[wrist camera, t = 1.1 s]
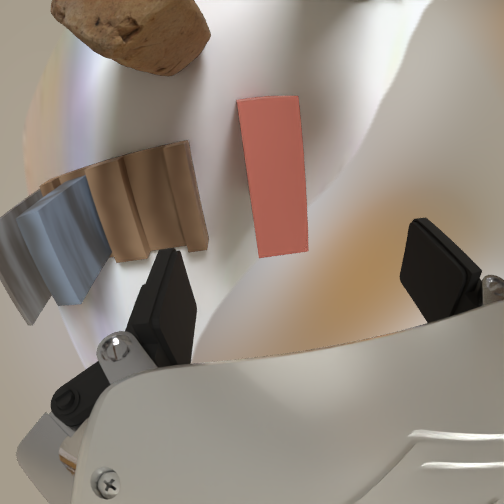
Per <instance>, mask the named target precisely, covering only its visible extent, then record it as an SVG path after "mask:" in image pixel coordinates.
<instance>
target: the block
mask: <svg viewBox="0 0 504 504" xmlns="http://www.w3.org/2000/svg"><path fill="white" fill-rule="evenodd" d="M51 14H52V15H53V16H54V18H55V19H56V20H57V21H58V22H60V23H61V24H63V25H64V26H65V27H66V28H68V29H69V30H70V31H71V32H72V33H73V34H74V35H75V36H76V37H77V38H79V39H80V40H81V41H82V42H83V43H85V44H86V45H87V46H88V47H89V48H91V49H92V50H93V51H94V52H96V53H98V54H100V55H101V56H103V57H105V58H109V59H112V60H114V61H116V62H118V63H119V64H121V65H124V66H126V67H131V68H133V69H135V70H139V71H144V72H148V73H152V74H156V75H161V76H172V75H175V74H177V73H178V72H179V71H181V70H182V69H184V68H185V67H186V66H187V65H188V64H189V63H190V62H192V61H193V60H194V59H195V58H196V57H197V56H198V55H199V54H200V53H201V52H202V50H203V49H204V47H205V45H206V44H207V42H208V41H209V39H210V37H211V34H210V30H209V27H208V25H207V23H206V20H205V18H204V16H203V14H202V13H201V11H200V9H199V7H198V6H197V4H196V3H195V1H194V0H52V3H51Z"/></svg>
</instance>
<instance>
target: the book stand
mask: <svg viewBox="0 0 504 504" xmlns="http://www.w3.org/2000/svg"><path fill="white" fill-rule="evenodd" d="M208 240H209V238H208V233H207V229H206V224H205V220H204V215H203V211H202V206H201V201H200V197H199V192H198V187H197V182H196V177H195V172H194V167H193V162H192V157H191V152H190V147H189V142H188V140H186V141H181V142H176V143H171V144H167V145H162V146H158V147H154V148H150V149H145V150H142V151H138V152H134V153H130V154H126V155H123V156H119V157H116V158H112V159H109V160H105V161H102V162H99V163H96V164H92V165H89V166H86V167H83V168H80V169H77V170H74V171H71V172H69V173H66V174H63V175H60V176H58V177H55V178H52V179H50V180H48V181H47V182H45V183H44V184H42V185H41V186H40V189H38V190H37V191H36V192H34V193H33V194H31V195H30V196H28V197H27V198H25V200H23V201H21V202H20V203H19V204H17V205H16V206H15V207H13V208H12V209H11V210H9V211H8V212H7V213H5V214H4V215H3V216H2V217H0V280H1V282H2V284H3V286H4V287H5V289H6V291H7V293H8V294H9V296H10V298H11V299H12V301H13V303H14V304H15V306H16V308H17V309H18V311H19V312H20V314H21V315H22V317H23V318H24V320H25V321H26V323H27V324H28V325H33V324H34V323H35V321H36V319H37V318H38V316H39V314H40V312H41V311H42V310H43V308H44V306H45V305H46V303H47V302H48V300H49V299H50V297H51V296H53V298H54V300H55V301H56V303H57V305H58V306H62V305H76V304H82V302H83V300H84V298H85V297H86V295H87V293H88V291H89V289H90V288H91V286H92V284H93V283H94V281H95V279H96V278H97V276H98V274H99V273H100V271H101V269H102V268H103V266H104V264H105V263H106V261H107V260H108V258H109V257H114V258H115V260H116V263H120V262H126V261H133V260H140V259H147V258H148V256H149V254H150V252H151V251H153V250H160V249H166V248H173V247H180V246H186V245H187V248H188V252H195V251H202V250H207V247H208Z"/></svg>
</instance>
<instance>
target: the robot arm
mask: <svg viewBox="0 0 504 504" xmlns="http://www.w3.org/2000/svg"><path fill="white" fill-rule="evenodd" d="M481 273H482V270H481V269H480V268H479V267H478V266H477V265H476V264H475V263H474V262H473V261H472V260H471V259H470V258H469V257H468V256H467V255H466V254H465V253H464V252H463V251H462V250H461V249H460V248H459V247H458V246H457V245H456V244H455V243H454V242H453V241H452V240H451V239H450V238H448V237H447V236H446V235H445V234H444V233H443V232H442V231H441V230H440V229H439V228H437V227H436V226H435V225H434V224H433V223H432V222H431V221H429V220H428V219H427V218H419V219H414V220H413V221H412V223H410V225H409V229H408V237H407V242H406V247H405V253H404V258H403V262H402V267H401V272H400V281H401V283H402V285H403V286H404V288H405V289H406V290H407V292H408V293H409V295H410V296H411V298H412V299H413V301H414V302H415V304H416V305H417V307H418V308H419V310H420V312H421V313H422V315H423V316H424V318H425V319H426V321H427V324H423V325H420V326H416V327H413V328H409V329H405V330H401V331H397V332H393V333H389V334H385V335H380V336H376V337H372V338H367V339H363V340H358V341H353V342H349V343H344V344H338V345H333V346H328V347H322V348H317V349H311V350H305V351H298V352H292V353H285V354H278V355H270V356H263V357H254V358H245V359H237V360H227V361H216V362H206V363H194V364H190V363H191V354H192V346H193V337H194V329H195V322H196V314H197V306H196V302H195V299H194V296H193V292H192V289H191V286H190V283H189V279H188V276H187V273H186V269H185V266H184V262H183V259H182V255H181V252H180V251H176V250H175V248H167V249H160V250H159V252H158V254H157V256H156V259H155V261H154V264H153V266H152V269H151V271H150V274H149V276H148V279H147V282H146V284H144V285H142V287H141V289H140V292H139V295H138V297H137V300H136V302H135V305H134V308H133V310H132V313H131V316H130V319H129V322H128V324H127V327H126V330H125V331H119V332H114V333H112V334H110V335H108V336H107V337H106V338H104V339H103V340H102V341H101V343H100V344H99V346H98V348H97V353H96V355H97V359H98V362H96V363H95V364H93V365H92V366H90V367H89V368H87V369H86V370H85V371H83V372H82V373H80V374H79V375H77V376H76V377H75V378H73V379H72V380H70V381H69V382H68V383H66V384H64V385H63V386H61V387H60V388H59V389H58V390H57V391H56V392H55V394H54V395H53V397H52V400H51V410H52V411H51V412H50V413H49V414H48V413H46V412H45V413H44V415H43V416H42V417H41V418H40V419H39V421H38V422H37V423H36V424H35V425H34V427H33V428H32V429H31V430H30V431H29V433H28V434H27V435H26V436H25V438H24V439H23V440H22V441H21V442H20V444H19V446H18V448H17V452H16V456H17V461H18V463H19V465H20V466H21V468H22V469H23V470H24V472H25V473H26V475H27V476H28V477H29V479H30V480H31V481H32V482H33V484H34V485H35V486H36V488H37V489H38V490H39V492H40V493H41V494H42V495H43V497H44V498H45V499H46V500H47V501H48V502H49V503H50V504H504V280H503V279H502V278H500V277H498V276H495V275H487V276H485V277H484V278H483V279H482V281H481V280H480V275H481Z"/></svg>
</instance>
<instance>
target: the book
mask: <svg viewBox="0 0 504 504" xmlns="http://www.w3.org/2000/svg"><path fill="white" fill-rule="evenodd" d="M236 101H237V108H238V115H239V122H240V129H241V136H242V143H243V150H244V157H245V164H246V171H247V178H248V185H249V192H250V199H251V206H252V213H253V220H254V227H255V233H256V240H257V247H258V254H259V258H264V257H271V256H278V255H285V254H292V253H300V252H307V251H308V222H307V199H306V181H305V166H304V152H303V140H302V128H301V118H300V108H299V98H298V96H264V97H255V98H246V99H239V100H236Z"/></svg>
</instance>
